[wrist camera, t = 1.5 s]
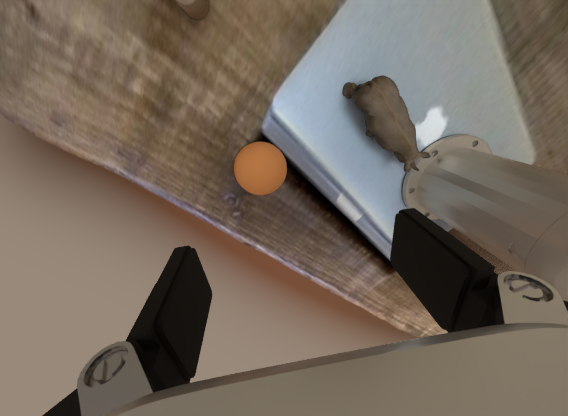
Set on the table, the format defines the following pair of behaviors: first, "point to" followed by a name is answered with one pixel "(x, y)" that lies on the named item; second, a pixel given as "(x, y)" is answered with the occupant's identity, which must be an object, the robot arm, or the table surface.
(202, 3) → the pin
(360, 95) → the rhino figurine
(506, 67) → the table surface
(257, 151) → the ball
